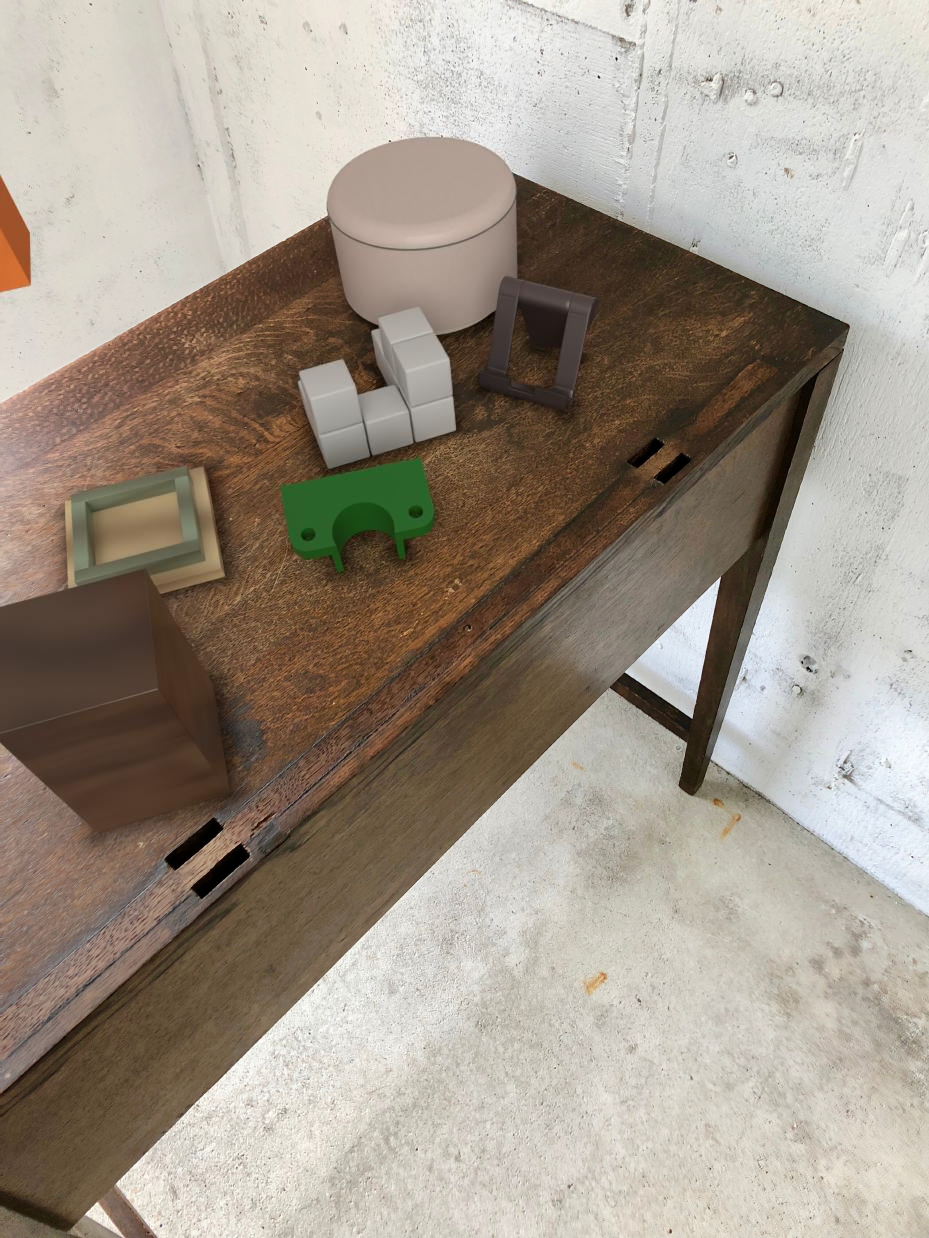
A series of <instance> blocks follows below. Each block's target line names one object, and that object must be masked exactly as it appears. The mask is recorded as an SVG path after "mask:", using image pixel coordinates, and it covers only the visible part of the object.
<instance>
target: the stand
mask: <svg viewBox="0 0 929 1238" xmlns="http://www.w3.org/2000/svg"><path fill="white" fill-rule="evenodd" d="M169 608H170V607H168V605H167V603H166V602H165V600H164V598H163V597H162V594H160V593H159V591H158V589H157V588H156V586H155V584H154V583H153V581H152V579H151V577H150V576H149V574H148V572H147V571H146V569H140V570H136V571H133V572H129V573H125V574H121V575H118V576H114V577H110V578H106V579H103V580H99V581H95V582H91V583H87V584H84V585H80V586H76V587H72V588H69V589H68V588H66V589H62V590H58V591H54V592H51V593H47V594H43V595H39V596H34V597H32V598H31V597H30V598H27V599H24V600H20V601H16V602H13V603H9V604H4V605H1V606H0V745H1V746H3V747H4V748H5V749H6V751H8V752H9V753H10V754H11V755H12V756H13V757H15V758H16V759H17V760H18V761H19V762H20V763H21V765H23V766H24V767H25V768H26V769H27V770H29V771H30V772H31V773H32V774H33V775H34V776H35V777H36V778H37V779H38V780H40V781H41V782H42V783H43V784H44V785H45V786H46V787H47V788H48V789H50V791H51V792H52V793H54V794H55V795H56V796H57V797H58V798H59V799H60V800H61V801H62V802H63V803H64V804H65V805H66V806H68V807H69V808H70V809H71V810H72V811H73V812H74V813H75V814H76V815H77V816H78V817H80V819H82V820H83V821H84V822H85V823H86V824H87V825H88V826H89V827H90V828H91V829H92V830H94V832H96V833H97V834H101V833H103V832H107V831H109V830H114V829H116V828H120V827H123V826H126V825H130V824H134V823H136V822H140V821H143V820H147V819H149V818H150V819H151V818H153V817H156V816H160V815H163V814H166V813H170V812H173V811H177V810H180V809H183V808H187V807H191V806H193V805H197V804H201V803H203V802H207V801H210V800H214V799H217V798H220V797H224V796H227V795H230V793H231V789H230V783H229V776H228V769H227V763H226V756H225V750H224V749H225V748H224V743H223V736H222V730H221V724H220V717H219V711H218V703H217V698H216V692H215V691H216V690H215V686H214V684H213V682H212V680H211V678H210V677H209V675H208V674H207V671H206V670H205V669H204V666H203V665H202V663H201V662H200V660H199V658H198V657H197V654H196V653H195V651H194V649H193V648H192V646H191V645H190V643H189V641H188V639H187V637H186V636H185V634H184V632H183V630H182V629H181V627H180V626H179V624H178V622H177V620H176V618H175V617H174V615H173V613H172V612H171V610H170V609H169Z"/></svg>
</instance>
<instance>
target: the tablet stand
mask: <svg viewBox="0 0 929 1238" xmlns="http://www.w3.org/2000/svg"><path fill="white" fill-rule="evenodd" d="M519 309H520V311H521V316H522V319H523V322H524V325H525V328H526V332H527V336H528V339H529V341H530V344H531V347H532V348H533V349H534V350H537V351H540V352H544V353H546V351H547V347H550V348H554V349H556V350H557V349H558V350H559V351H560V353H559V357H558V363H557V369H556V373H555V379H554V384H553V387H552V389H549V388H545V387H542V386H539V385H535V386H532V385H529V384H526V383H522V382H519V381H516V380H512V378H510V377H508V372H509V371H508V370H509V363H510V358H511V351H512V345H513V339H514V332H515V327H516V320H517V313H518V310H519ZM598 309H599V299H598V297H595V296H591V295H586V294H583V293H578V292H574V291H570V290H566V289H563V288H557V287H554V286H551V285H550V286H549V285H546V284H542V283H537V282H533V281H530V280H525V279H521V278H518V277H517V278H513V277H509V276H505V277H504V278H503V279H502V281H501V283H500V287H499V293H498V299H497V306H496V310H495V312H494V313H495V314H494V320H493V328H492V335H491V342H490V348H489V356H488V363H487V367H486V371H485V370H482V369H481V370H479V372H478V386H479V387H480V388H482V389H485V390H489V391H490V392H496V393H499V394H501V395H505V396H509V397H511V398H512V397H513V398H516V399H519V400H523V401H526V402H530V403H533V404H536V405H540V406H543V407H547V408H551V409H553V410H555V411H561V412H564V413H567V412H569V411H570V409H571V407H572V404H573V401H574V396H575V391H576V387H577V383H578V382H577V381H578V376H579V370H580V366H581V363H582V362H581V361H582V357H583V351H584V346H585V341H586V337H587V333H588V328H589V326H590V325H591V324H592V323H593V322H594V321H595V318H596V316H597V313H598Z"/></svg>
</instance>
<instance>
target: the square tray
mask: <svg viewBox="0 0 929 1238" xmlns="http://www.w3.org/2000/svg"><path fill="white" fill-rule="evenodd" d="M64 515H65V517H64V518H65V542H66V544H65V545H66V563H67V564H66V565H67V568H66V569H67V589H69V588H72V587H76V586H80V585H84V584H87V583H91V582H95V581H99V580H103V579H106V578H110V577H114V576H118V575H121V574H125V573H129V572H133V571H136V570H140V569H146V571H147V572H148V574H149V576H150V577H151V579H152V581H153V583H154V584H155V586H156V588H157V589H158V591H159V593H160V595H162V594H166V593H170V592H173V591H177V590H180V589H185V588H188V587H192V586H196V585H199V584H202V583H207V582H211V581H214V580H218V579H221V578H225V577H226V572H225V568H224V567H225V566H224V561H223V556H222V551H221V545H220V539H219V534H218V527H217V523H216V517H215V510H214V505H213V500H212V495H211V487H210V482H209V477H208V473H207V472H206V468H205V467H204V466H198V467H195V468H191V469H189V468H188V466H187V465H183V466H179V467H176V468H171V469H168V470H164V471H159V472H155V473H151V474H147V475H144V476H143V475H142V476H140V477H136V478H132V479H129V480H124V481H121V482H117V483H113V484H108V485H105V486H104V485H103V486H101V487H97V488H93V489H89V490H84V491H81V492H76V493H72V494H70V499H69V500H65V501H64Z"/></svg>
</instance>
